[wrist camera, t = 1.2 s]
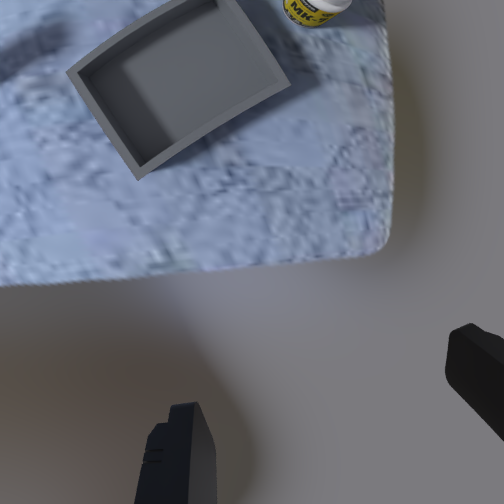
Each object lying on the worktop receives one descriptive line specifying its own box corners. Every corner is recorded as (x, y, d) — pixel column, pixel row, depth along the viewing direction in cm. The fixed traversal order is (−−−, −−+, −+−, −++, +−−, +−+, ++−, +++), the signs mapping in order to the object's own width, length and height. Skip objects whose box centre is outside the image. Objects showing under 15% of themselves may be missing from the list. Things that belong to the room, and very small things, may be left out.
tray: (80, 77, 24) (65, 71, 20) (215, -7, 23) (218, -23, 19) (144, 174, 29) (137, 180, 25) (279, 89, 28) (291, 85, 24)
